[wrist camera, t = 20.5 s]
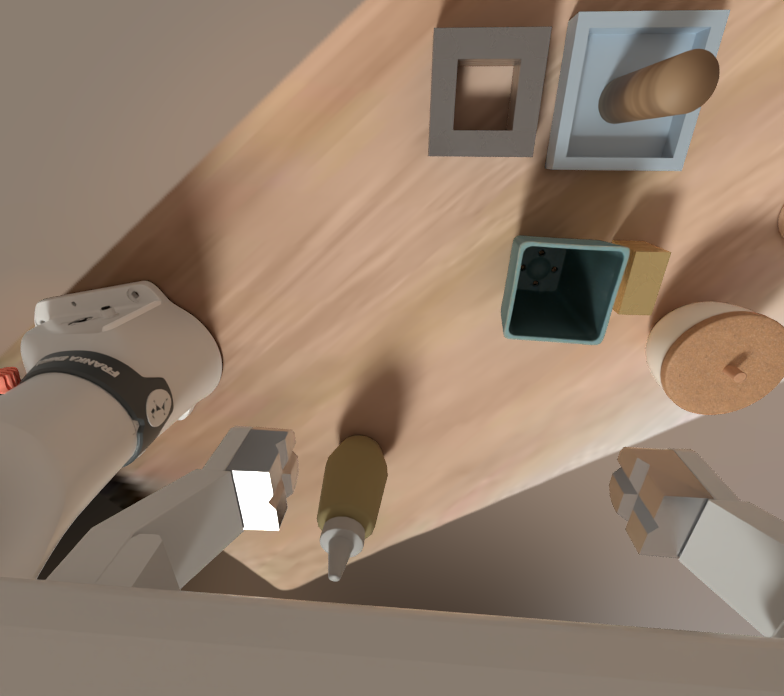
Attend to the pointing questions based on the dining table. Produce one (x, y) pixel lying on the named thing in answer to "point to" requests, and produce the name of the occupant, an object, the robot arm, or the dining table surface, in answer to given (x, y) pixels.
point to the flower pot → (561, 289)
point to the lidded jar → (715, 356)
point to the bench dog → (640, 278)
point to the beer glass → (781, 222)
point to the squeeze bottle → (350, 500)
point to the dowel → (661, 88)
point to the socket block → (529, 61)
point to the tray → (612, 60)
